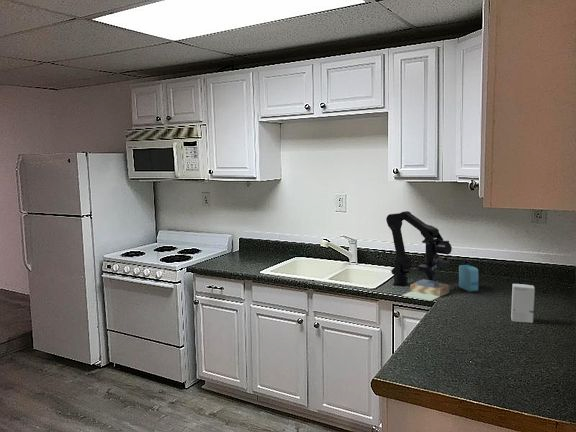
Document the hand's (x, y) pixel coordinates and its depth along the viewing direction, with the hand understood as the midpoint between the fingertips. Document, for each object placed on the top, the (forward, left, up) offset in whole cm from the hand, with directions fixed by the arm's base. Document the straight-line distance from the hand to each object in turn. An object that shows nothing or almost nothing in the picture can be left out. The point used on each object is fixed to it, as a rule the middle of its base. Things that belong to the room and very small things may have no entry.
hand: (431, 281), depth 253 cm
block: (0, -4, -1) cm, 4 cm away
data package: (+13, +16, -5) cm, 21 cm away
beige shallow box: (0, -2, -5) cm, 5 cm away
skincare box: (+51, -21, -5) cm, 55 cm away
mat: (0, -12, -5) cm, 13 cm away
